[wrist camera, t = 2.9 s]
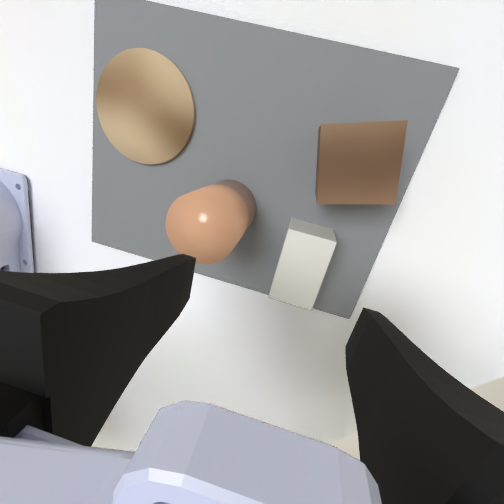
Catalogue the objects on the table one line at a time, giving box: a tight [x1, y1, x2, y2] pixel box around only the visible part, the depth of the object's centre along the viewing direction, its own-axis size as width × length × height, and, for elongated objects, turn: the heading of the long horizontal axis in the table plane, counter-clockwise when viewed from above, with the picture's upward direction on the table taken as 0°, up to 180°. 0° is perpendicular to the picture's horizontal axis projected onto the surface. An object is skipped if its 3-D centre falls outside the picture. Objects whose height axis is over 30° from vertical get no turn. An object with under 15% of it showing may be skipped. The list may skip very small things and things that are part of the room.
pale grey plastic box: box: [269, 218, 337, 310], centre depth 19 cm, size 5×3×3 cm, turn 167°
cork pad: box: [96, 48, 195, 164], centre depth 19 cm, size 7×7×1 cm
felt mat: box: [92, 0, 460, 319], centre depth 20 cm, size 17×22×1 cm
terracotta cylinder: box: [166, 179, 257, 264], centre depth 18 cm, size 4×4×6 cm
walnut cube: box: [315, 120, 408, 205], centre depth 16 cm, size 4×4×4 cm
